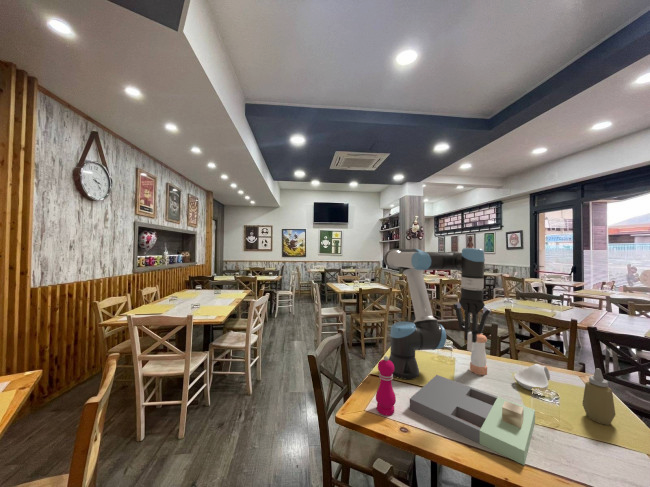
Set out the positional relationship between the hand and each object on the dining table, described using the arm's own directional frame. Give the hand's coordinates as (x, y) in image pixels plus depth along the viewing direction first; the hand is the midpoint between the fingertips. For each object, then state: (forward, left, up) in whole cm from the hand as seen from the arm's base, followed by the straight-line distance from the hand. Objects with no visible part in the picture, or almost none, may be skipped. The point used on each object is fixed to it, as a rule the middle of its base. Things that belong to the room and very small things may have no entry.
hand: (470, 349), depth 97 cm
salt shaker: (-5, +35, -22) cm, 41 cm away
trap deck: (+2, -5, -22) cm, 22 cm away
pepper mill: (-21, -25, -22) cm, 40 cm away
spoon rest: (+16, +41, -22) cm, 49 cm away
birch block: (+14, -5, -18) cm, 23 cm away
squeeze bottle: (+35, +26, -22) cm, 48 cm away
